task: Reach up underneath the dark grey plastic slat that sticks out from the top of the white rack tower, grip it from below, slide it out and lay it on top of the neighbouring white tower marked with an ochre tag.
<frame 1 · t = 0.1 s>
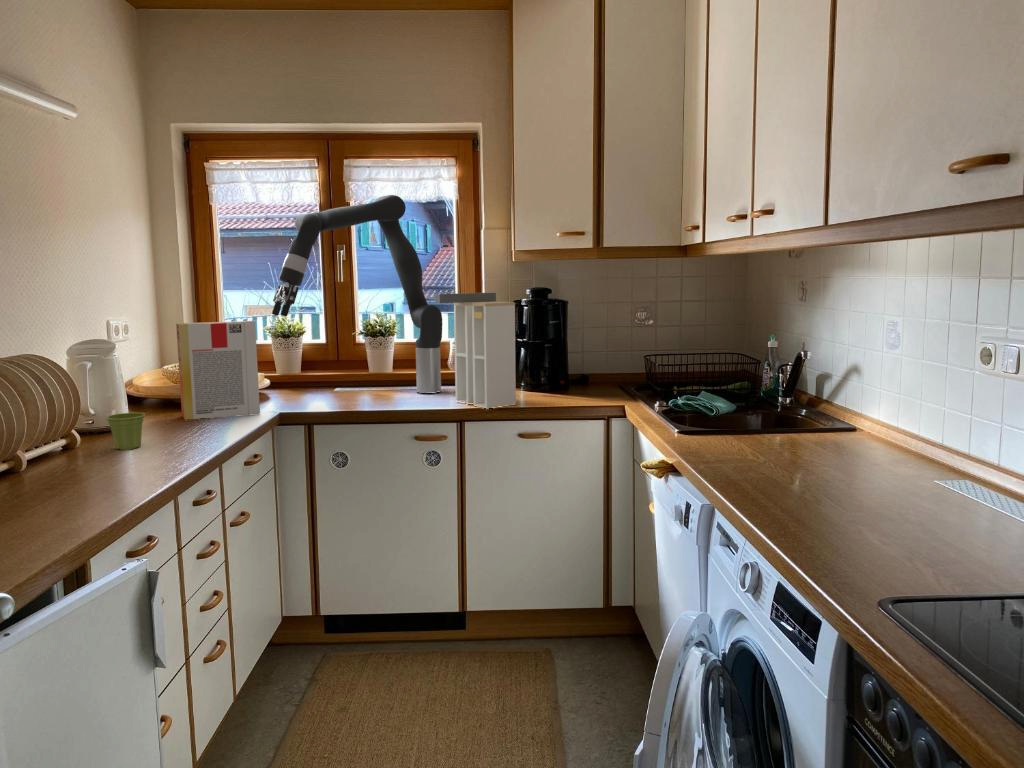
hand: (279, 315, 278), 31 cm above the worktop, tool tilted 20°, fingers open, 8 cm apart
rack B: (494, 405, 281), on the worktop
slat: (466, 302, 283), point 35 cm above the worktop, touching rack A
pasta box: (221, 416, 268), on the worktop
rack A: (476, 402, 290), on the worktop
plant pot: (128, 448, 218), on the worktop
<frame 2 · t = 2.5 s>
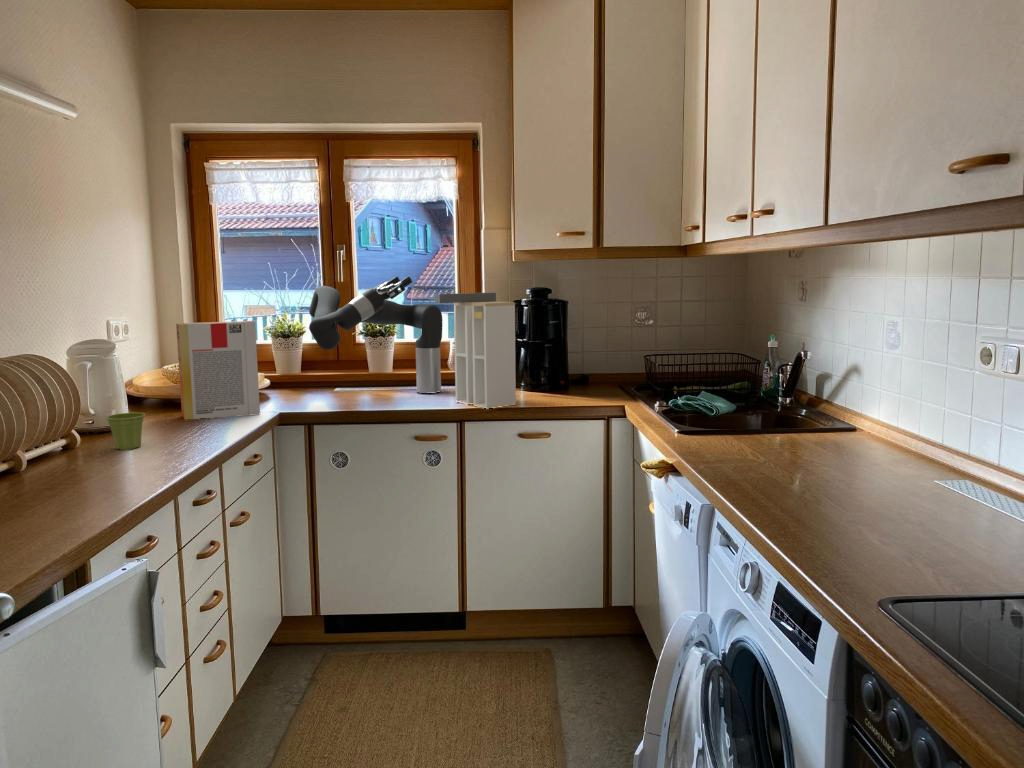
hand: (404, 279, 270), 43 cm above the worktop, tool pointing upward, fingers open, 7 cm apart
nothing on the worktop moved.
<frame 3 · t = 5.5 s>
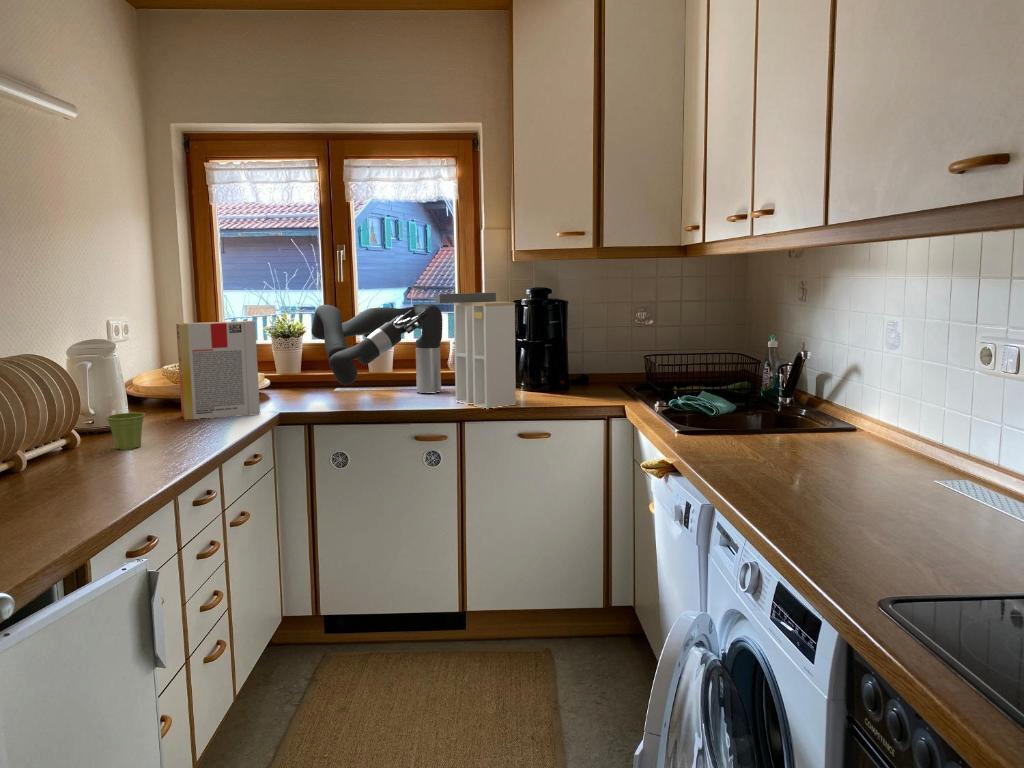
hand: (420, 312, 273), 32 cm above the worktop, tool pointing upward, fingers open, 8 cm apart
nothing on the worktop moved.
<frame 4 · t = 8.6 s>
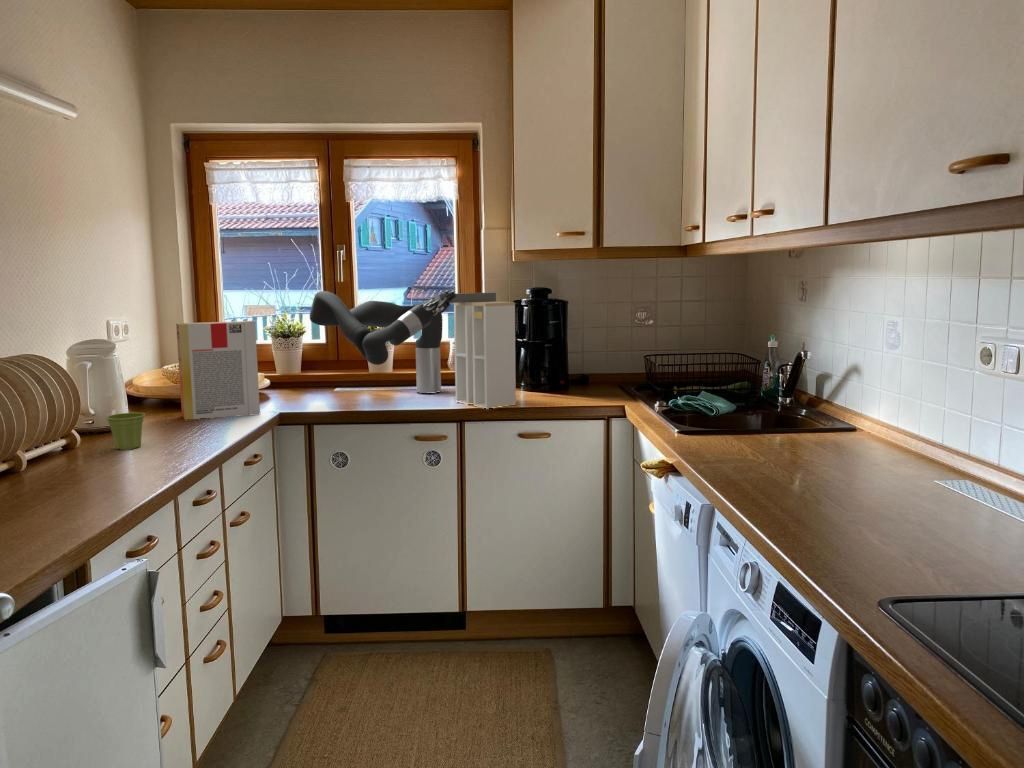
hand: (451, 293, 279), 38 cm above the worktop, tool pointing upward, fingers closed on slat, 3 cm apart
slat: (466, 302, 283), point 35 cm above the worktop, touching gripper, rack A
everything else where it was.
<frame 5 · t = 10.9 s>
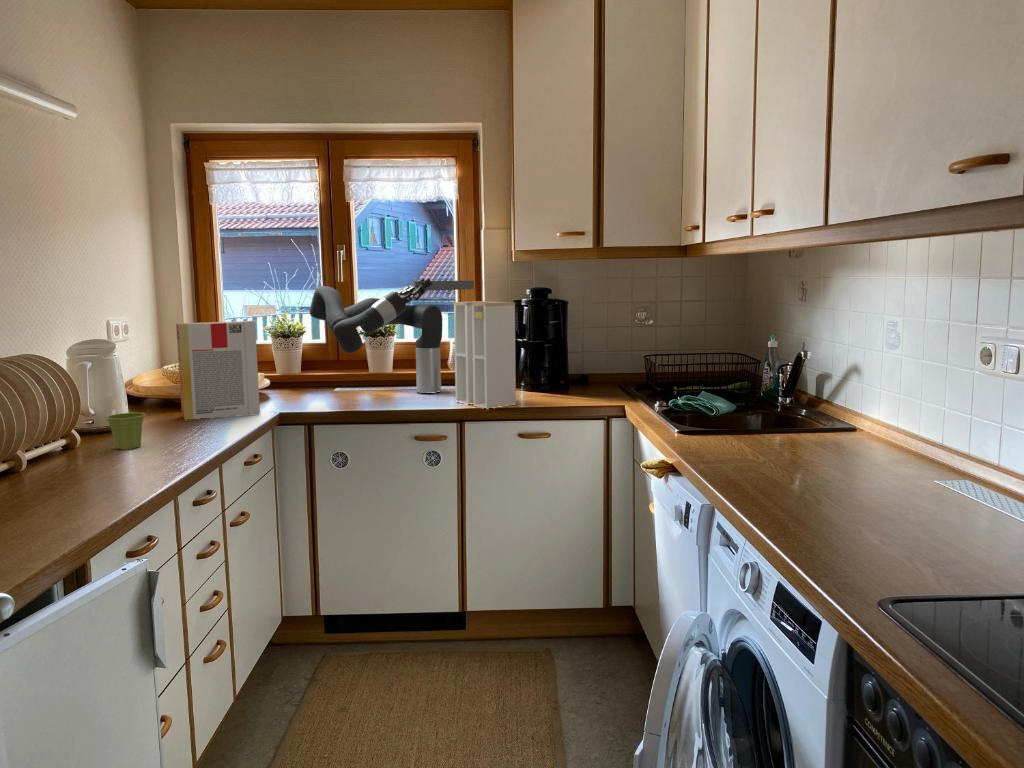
hand: (427, 281, 273), 42 cm above the worktop, tool pointing upward, fingers closed on slat, 3 cm apart
slat: (442, 289, 277), point 39 cm above the worktop, touching gripper
everything else where it was.
when the fingers open (39 cm above the worktop, at t = 13.3 s): slat stays where it is, resting on rack B.
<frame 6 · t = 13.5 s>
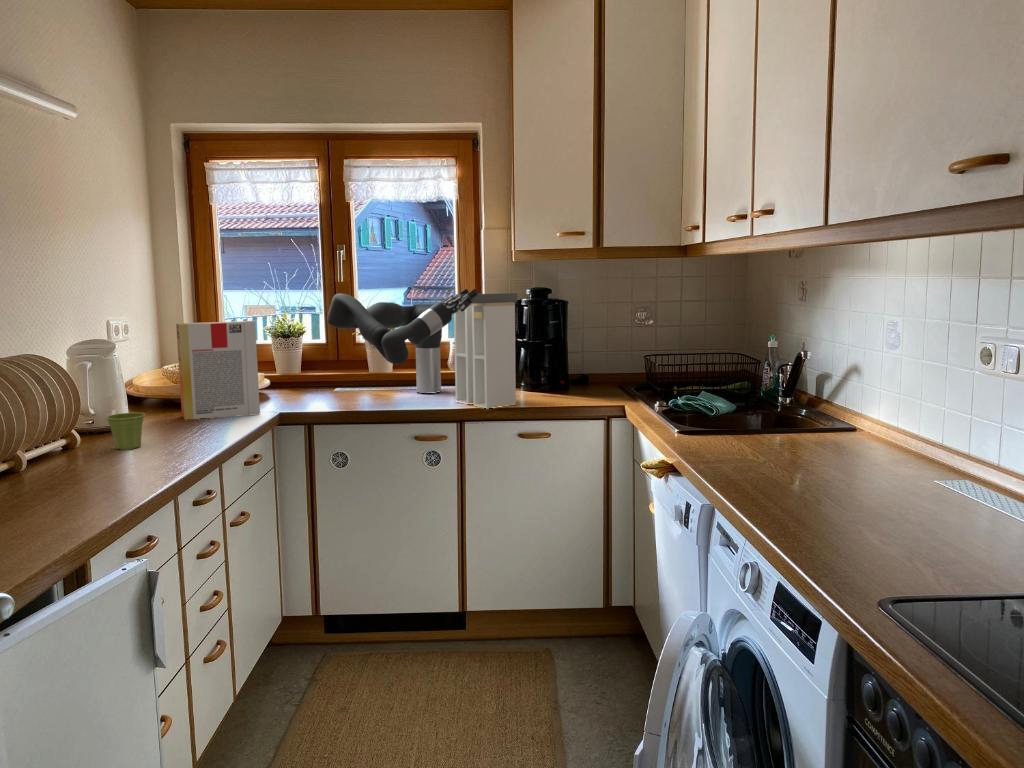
hand: (471, 291, 271), 39 cm above the worktop, tool pointing upward, fingers open, 4 cm apart
slat: (487, 302, 275), point 35 cm above the worktop, touching rack B
everything else where it was.
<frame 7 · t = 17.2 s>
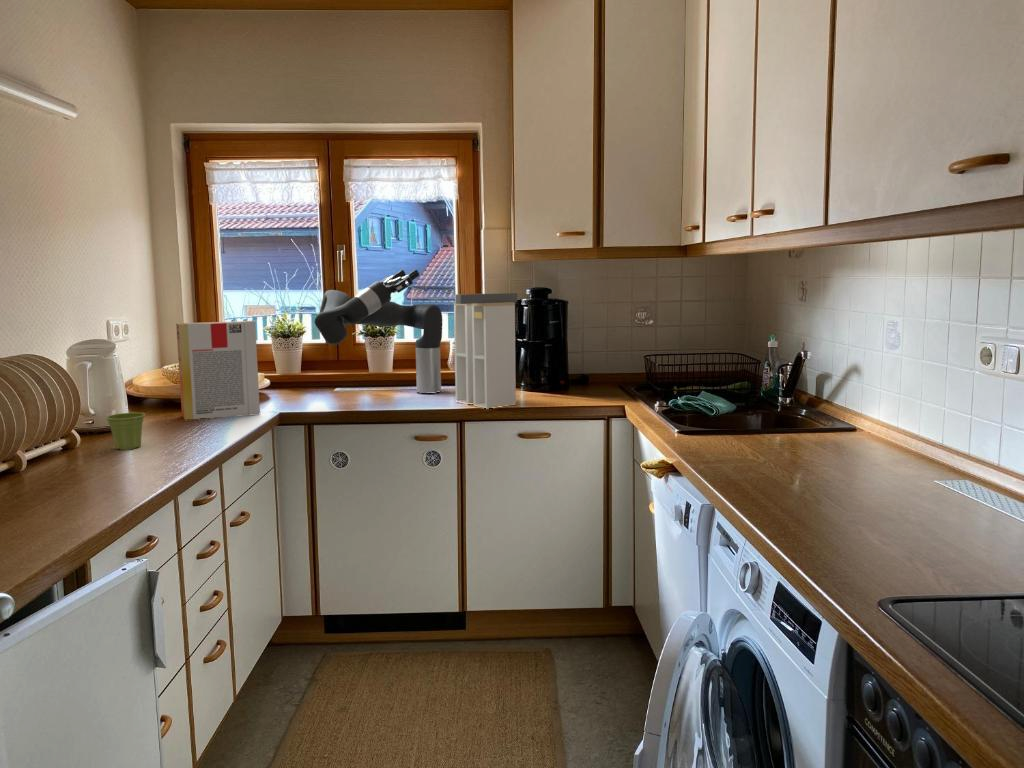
hand: (410, 272, 264), 45 cm above the worktop, tool pointing upward, fingers open, 8 cm apart
nothing on the worktop moved.
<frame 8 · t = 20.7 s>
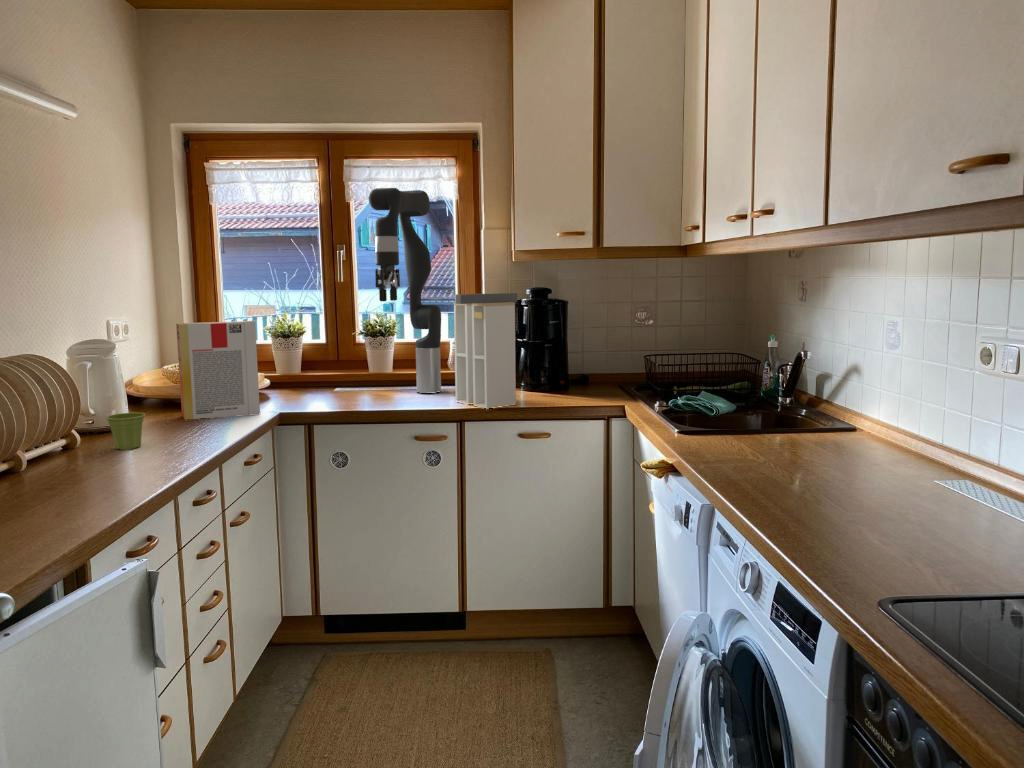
hand: (388, 300, 271), 36 cm above the worktop, tool pointing down, fingers open, 8 cm apart
nothing on the worktop moved.
at the end: slat touching rack B; slat point 35.0 cm above the worktop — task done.
